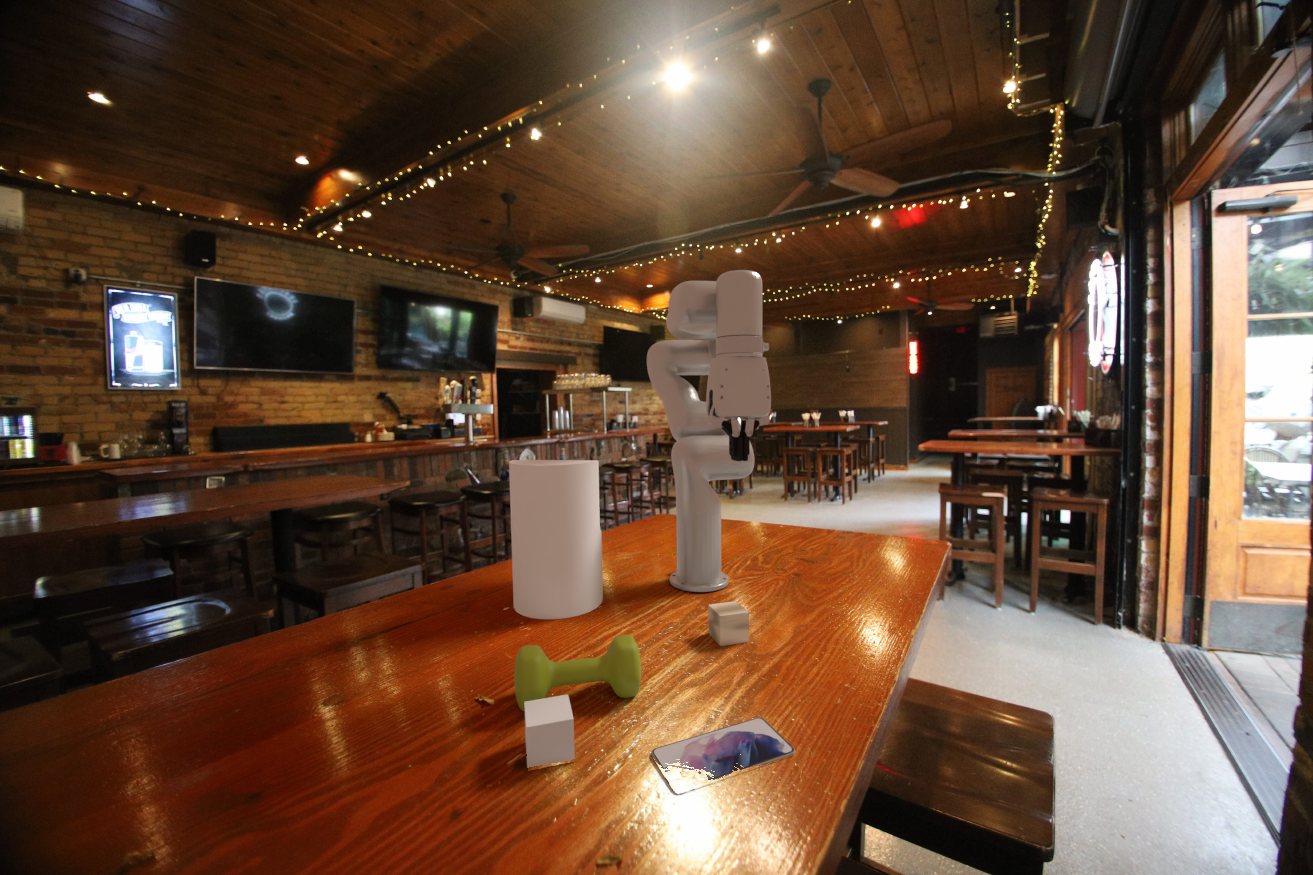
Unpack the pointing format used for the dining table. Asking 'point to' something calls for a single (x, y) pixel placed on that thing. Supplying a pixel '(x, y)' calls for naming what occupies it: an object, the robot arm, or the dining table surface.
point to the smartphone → (727, 749)
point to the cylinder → (555, 537)
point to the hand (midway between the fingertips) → (739, 460)
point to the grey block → (549, 730)
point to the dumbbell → (578, 670)
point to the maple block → (728, 623)
